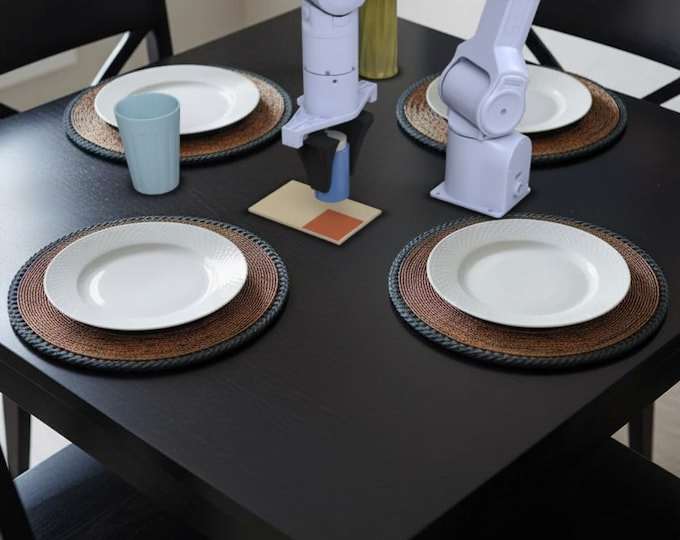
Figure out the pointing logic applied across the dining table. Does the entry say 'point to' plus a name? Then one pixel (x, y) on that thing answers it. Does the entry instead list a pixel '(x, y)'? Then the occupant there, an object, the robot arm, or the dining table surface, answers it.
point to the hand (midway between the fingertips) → (332, 181)
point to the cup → (150, 140)
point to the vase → (378, 39)
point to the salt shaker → (338, 172)
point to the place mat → (314, 212)
